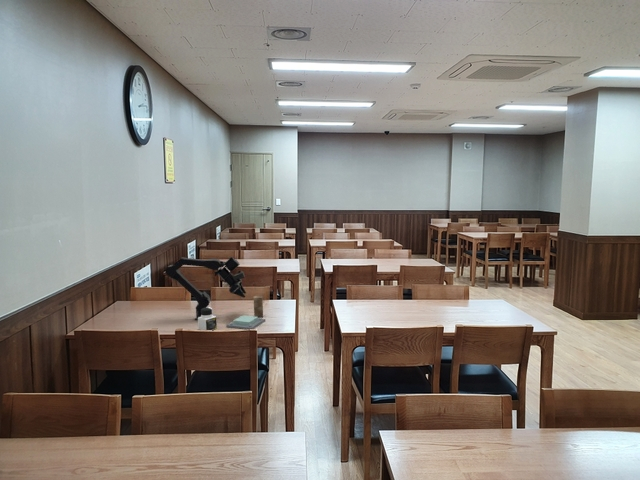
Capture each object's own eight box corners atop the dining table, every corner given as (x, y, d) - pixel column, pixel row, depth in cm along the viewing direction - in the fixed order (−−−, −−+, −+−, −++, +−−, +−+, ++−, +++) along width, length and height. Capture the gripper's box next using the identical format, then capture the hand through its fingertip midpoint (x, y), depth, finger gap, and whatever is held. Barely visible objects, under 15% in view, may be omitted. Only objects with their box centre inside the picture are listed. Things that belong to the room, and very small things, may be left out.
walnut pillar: (254, 317, 260) (253, 298, 258) (254, 315, 265) (254, 295, 263) (262, 317, 260) (262, 297, 259) (263, 314, 265) (262, 295, 264)
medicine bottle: (206, 332, 236) (205, 310, 235) (198, 329, 241) (197, 308, 239) (217, 328, 242) (216, 307, 240) (208, 326, 246) (207, 305, 245)
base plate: (226, 327, 244) (226, 321, 244) (241, 318, 259) (240, 313, 258) (251, 330, 238) (251, 324, 238) (265, 321, 253) (265, 315, 253)
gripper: (235, 270, 249) (254, 289, 252) (238, 264, 268) (255, 282, 270) (221, 283, 249) (240, 302, 252) (224, 276, 268) (242, 294, 270)
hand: (245, 295), depth 261 cm, fingers open, 9 cm apart
